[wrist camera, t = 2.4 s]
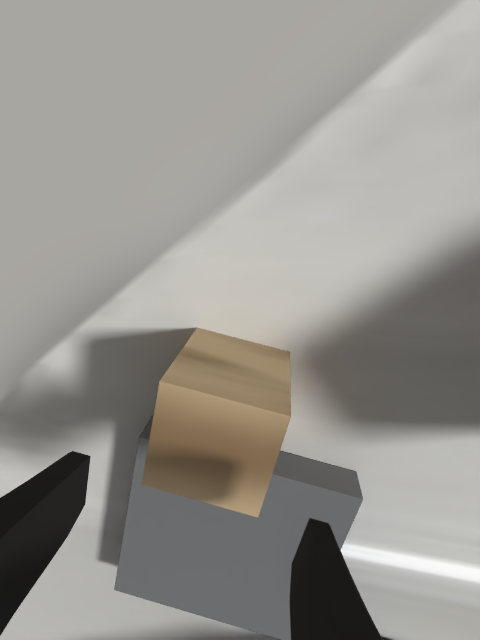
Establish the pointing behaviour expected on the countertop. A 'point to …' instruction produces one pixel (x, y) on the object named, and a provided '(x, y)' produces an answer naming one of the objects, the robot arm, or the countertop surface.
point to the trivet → (230, 543)
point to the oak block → (220, 422)
